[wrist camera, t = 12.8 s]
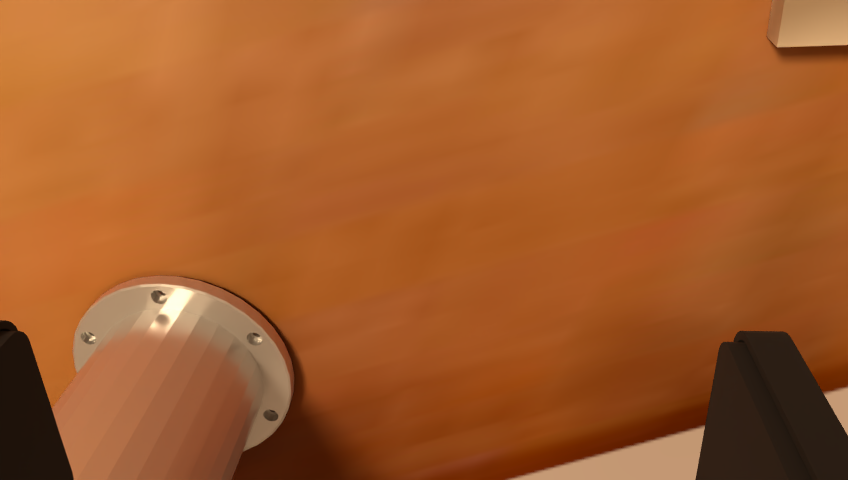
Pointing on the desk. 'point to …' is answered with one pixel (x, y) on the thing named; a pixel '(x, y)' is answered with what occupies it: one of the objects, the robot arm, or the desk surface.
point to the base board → (808, 23)
